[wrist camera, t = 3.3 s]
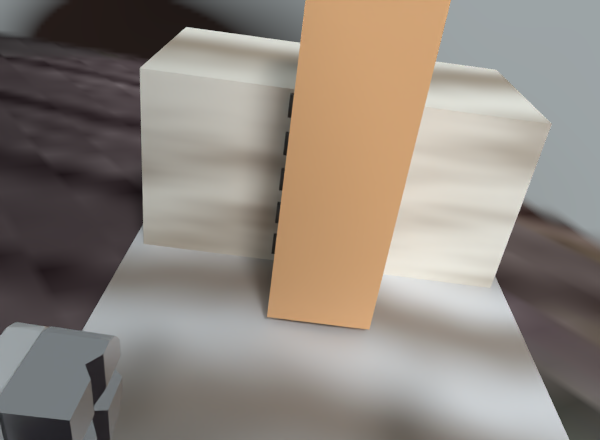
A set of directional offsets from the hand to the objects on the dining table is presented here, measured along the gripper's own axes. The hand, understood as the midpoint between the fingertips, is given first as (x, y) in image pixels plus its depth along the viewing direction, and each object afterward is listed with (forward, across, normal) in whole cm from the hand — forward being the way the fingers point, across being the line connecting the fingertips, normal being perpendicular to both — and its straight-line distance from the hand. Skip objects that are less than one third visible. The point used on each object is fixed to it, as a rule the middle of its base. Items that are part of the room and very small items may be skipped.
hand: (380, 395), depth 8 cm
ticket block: (+12, 0, +9) cm, 15 cm away
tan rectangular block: (+12, 0, +8) cm, 14 cm away
